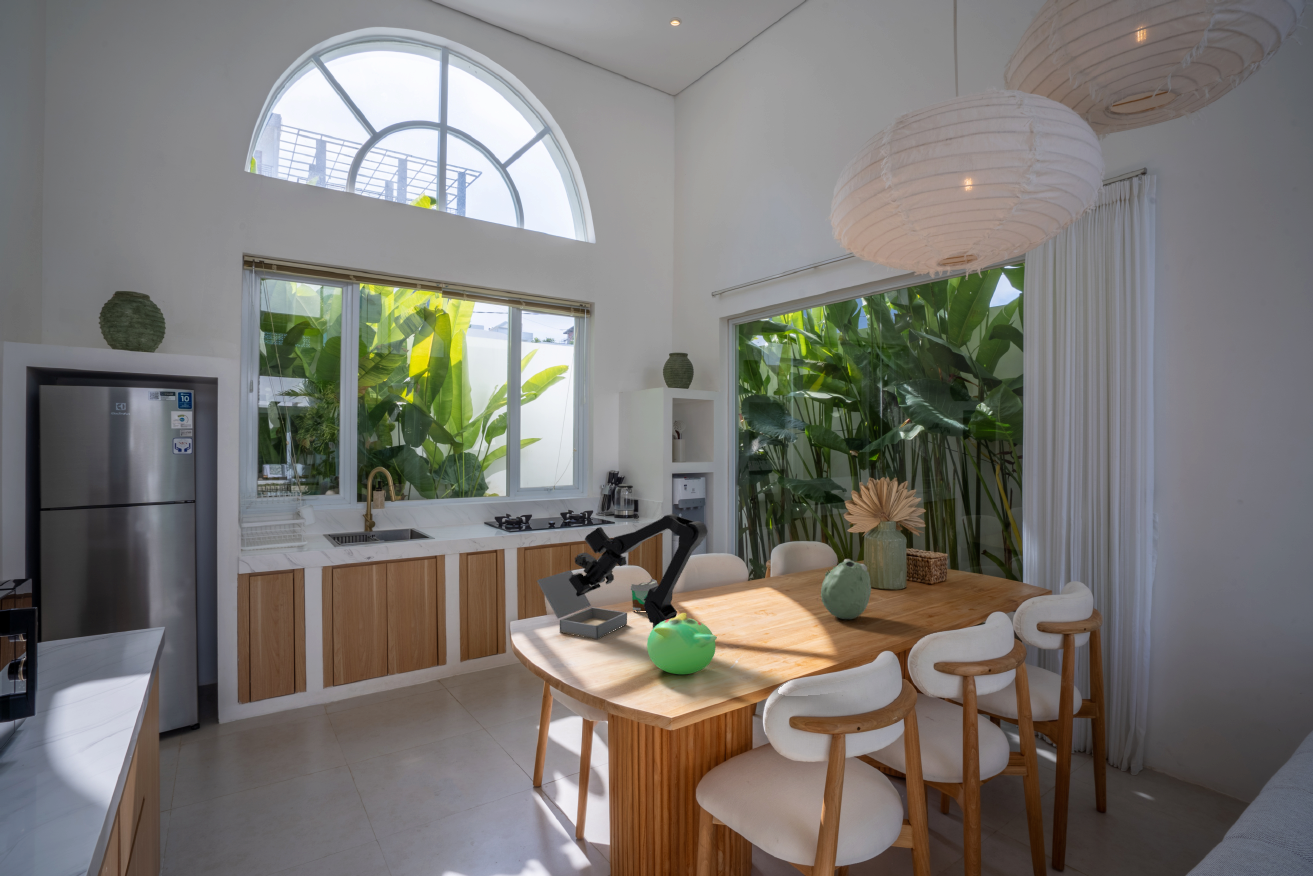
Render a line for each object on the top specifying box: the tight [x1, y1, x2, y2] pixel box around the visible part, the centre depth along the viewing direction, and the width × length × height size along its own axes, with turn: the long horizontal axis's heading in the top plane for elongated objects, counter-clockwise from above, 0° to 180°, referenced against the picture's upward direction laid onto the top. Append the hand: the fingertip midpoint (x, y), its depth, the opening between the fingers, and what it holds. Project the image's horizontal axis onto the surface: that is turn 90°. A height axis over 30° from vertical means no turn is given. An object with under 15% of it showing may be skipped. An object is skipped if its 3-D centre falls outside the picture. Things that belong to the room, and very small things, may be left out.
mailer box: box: [559, 606, 628, 640], centre depth 205 cm, size 14×18×4 cm
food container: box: [630, 578, 659, 611], centre depth 228 cm, size 12×6×10 cm, turn 143°
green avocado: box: [820, 558, 872, 620], centre depth 220 cm, size 16×19×20 cm
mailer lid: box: [536, 569, 592, 620], centre depth 211 cm, size 14×18×1 cm
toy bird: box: [646, 612, 717, 675], centre depth 167 cm, size 18×17×15 cm
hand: (577, 595), depth 208 cm, fingers closed
